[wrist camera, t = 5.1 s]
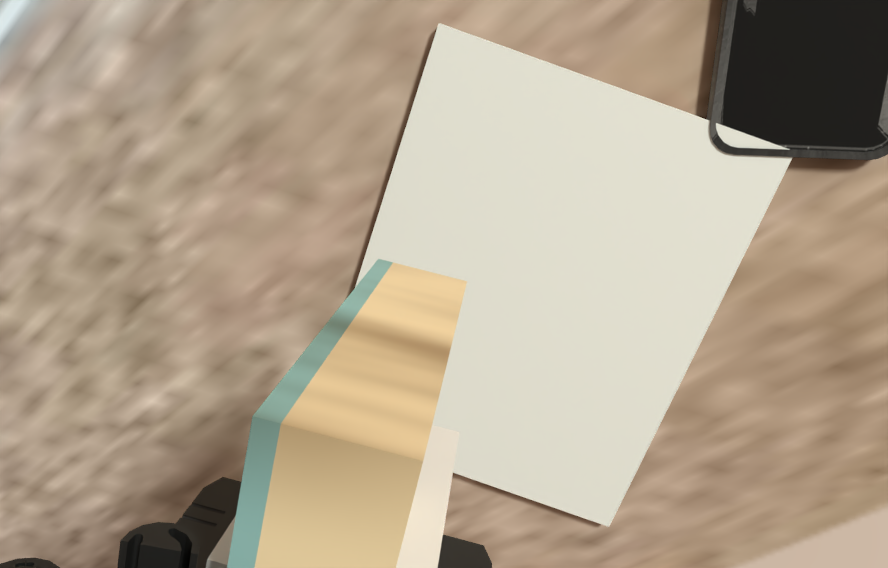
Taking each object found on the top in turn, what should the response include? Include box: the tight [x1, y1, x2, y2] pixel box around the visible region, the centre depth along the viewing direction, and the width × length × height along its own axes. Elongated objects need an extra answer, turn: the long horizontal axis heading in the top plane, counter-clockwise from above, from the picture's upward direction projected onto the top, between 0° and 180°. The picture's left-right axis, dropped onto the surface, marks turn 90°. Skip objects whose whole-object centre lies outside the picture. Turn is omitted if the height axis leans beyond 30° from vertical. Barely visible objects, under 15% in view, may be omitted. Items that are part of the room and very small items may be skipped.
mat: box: [355, 23, 793, 527], centre depth 32 cm, size 16×20×1 cm
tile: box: [227, 259, 467, 568], centre depth 15 cm, size 10×2×9 cm, turn 167°
